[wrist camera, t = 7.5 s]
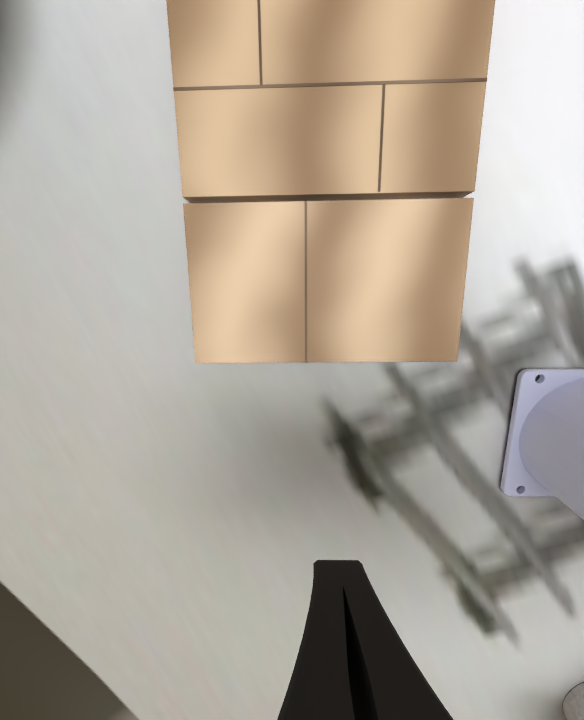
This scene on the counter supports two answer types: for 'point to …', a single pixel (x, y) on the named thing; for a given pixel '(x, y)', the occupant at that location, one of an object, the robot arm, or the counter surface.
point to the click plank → (328, 280)
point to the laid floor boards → (328, 97)
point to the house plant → (574, 703)
